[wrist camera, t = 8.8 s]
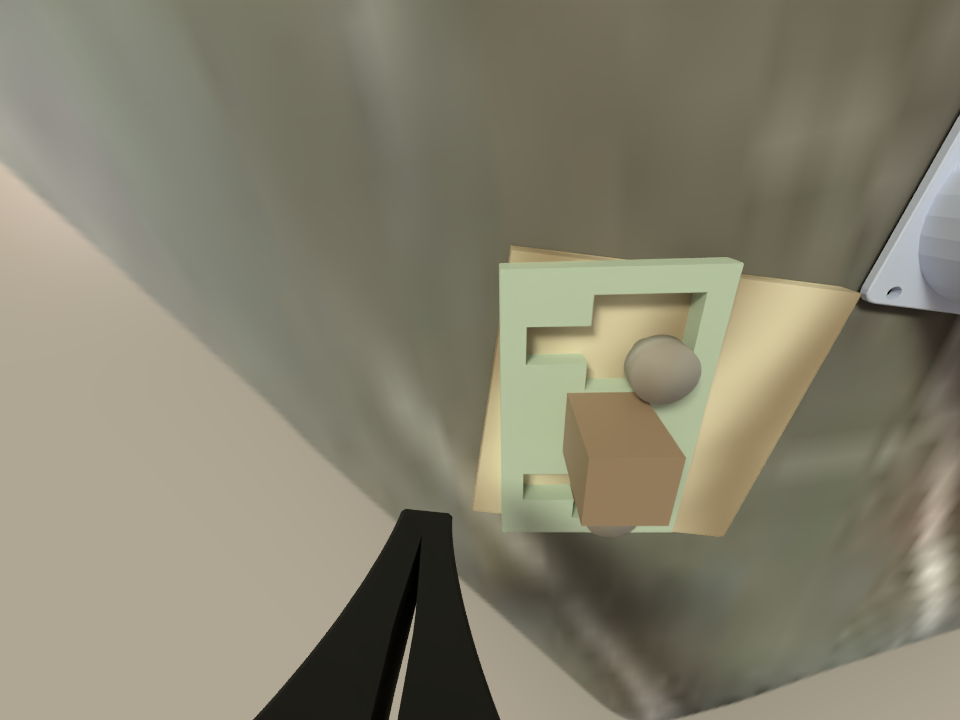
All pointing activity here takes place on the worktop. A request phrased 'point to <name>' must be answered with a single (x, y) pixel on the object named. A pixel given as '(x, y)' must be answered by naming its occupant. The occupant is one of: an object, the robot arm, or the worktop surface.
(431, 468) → the worktop surface
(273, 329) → the worktop surface
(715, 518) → the stud board
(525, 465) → the keyhole panel
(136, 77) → the worktop surface
